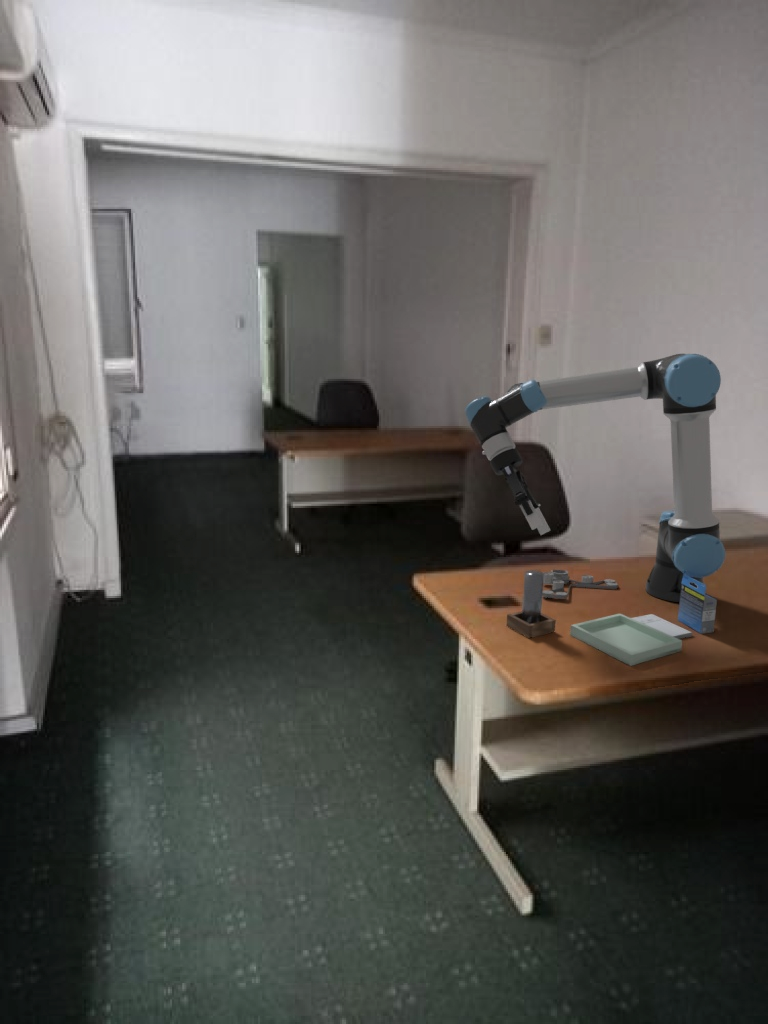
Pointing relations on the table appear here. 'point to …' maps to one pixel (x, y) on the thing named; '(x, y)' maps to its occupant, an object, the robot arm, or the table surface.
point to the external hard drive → (663, 626)
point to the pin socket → (531, 625)
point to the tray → (626, 639)
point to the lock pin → (532, 596)
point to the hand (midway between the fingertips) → (541, 530)
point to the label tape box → (696, 606)
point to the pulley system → (561, 578)
